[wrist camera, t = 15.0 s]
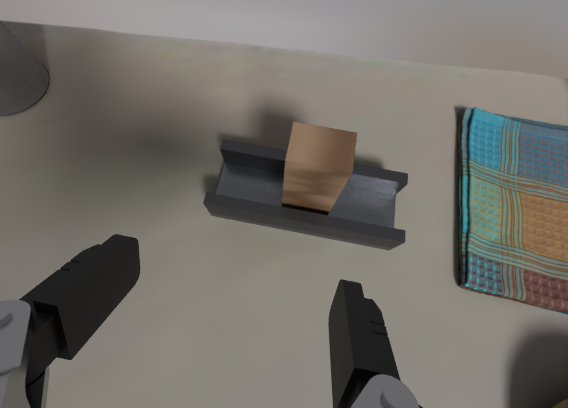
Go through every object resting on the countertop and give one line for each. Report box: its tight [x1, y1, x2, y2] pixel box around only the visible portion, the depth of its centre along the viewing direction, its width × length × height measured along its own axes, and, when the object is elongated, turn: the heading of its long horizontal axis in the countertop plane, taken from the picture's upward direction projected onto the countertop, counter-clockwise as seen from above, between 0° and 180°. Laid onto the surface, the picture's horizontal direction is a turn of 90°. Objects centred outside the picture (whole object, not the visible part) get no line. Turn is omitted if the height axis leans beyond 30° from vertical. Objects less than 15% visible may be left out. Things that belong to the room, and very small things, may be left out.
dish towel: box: [457, 107, 568, 314], centre depth 33 cm, size 17×23×2 cm
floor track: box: [203, 139, 408, 250], centre depth 31 cm, size 20×8×4 cm, turn 79°
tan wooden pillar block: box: [282, 121, 357, 215], centre depth 26 cm, size 5×4×11 cm
